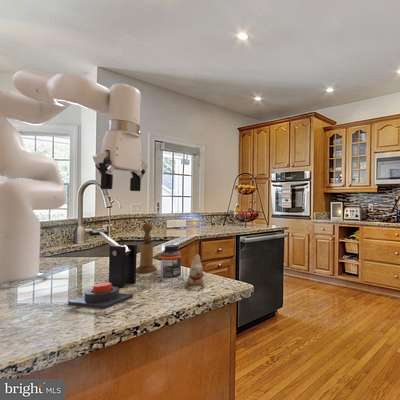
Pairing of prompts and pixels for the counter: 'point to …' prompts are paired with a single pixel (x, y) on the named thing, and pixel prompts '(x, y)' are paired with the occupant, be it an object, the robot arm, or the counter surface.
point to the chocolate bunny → (196, 272)
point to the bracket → (122, 265)
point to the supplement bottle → (171, 262)
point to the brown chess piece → (146, 252)
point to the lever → (108, 239)
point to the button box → (101, 299)
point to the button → (102, 287)
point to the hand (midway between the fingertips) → (121, 190)
